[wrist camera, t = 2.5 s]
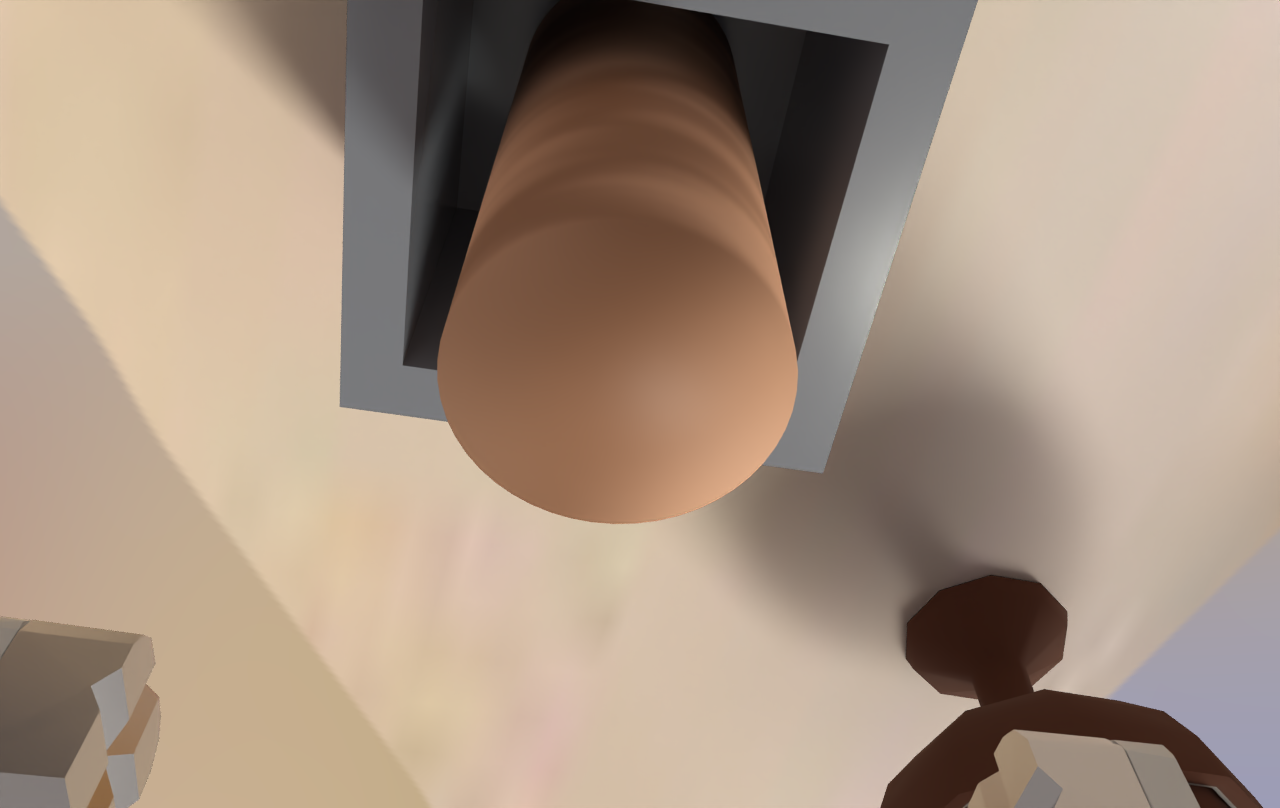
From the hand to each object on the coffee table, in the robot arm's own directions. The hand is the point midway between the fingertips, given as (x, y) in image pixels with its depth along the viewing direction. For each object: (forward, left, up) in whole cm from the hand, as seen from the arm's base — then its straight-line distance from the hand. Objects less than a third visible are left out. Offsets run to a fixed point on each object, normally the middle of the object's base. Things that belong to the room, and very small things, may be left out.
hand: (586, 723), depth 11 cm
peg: (0, 0, -19) cm, 19 cm away
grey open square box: (0, 0, -20) cm, 20 cm away
